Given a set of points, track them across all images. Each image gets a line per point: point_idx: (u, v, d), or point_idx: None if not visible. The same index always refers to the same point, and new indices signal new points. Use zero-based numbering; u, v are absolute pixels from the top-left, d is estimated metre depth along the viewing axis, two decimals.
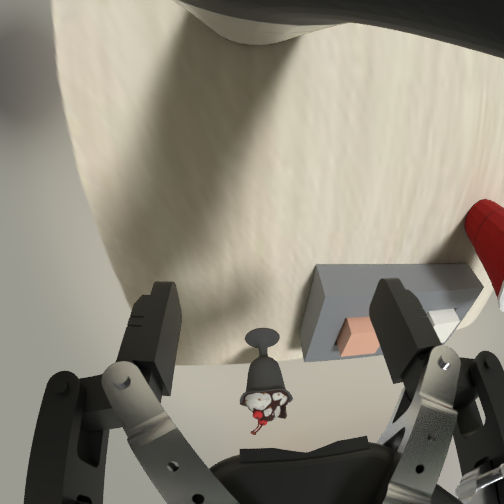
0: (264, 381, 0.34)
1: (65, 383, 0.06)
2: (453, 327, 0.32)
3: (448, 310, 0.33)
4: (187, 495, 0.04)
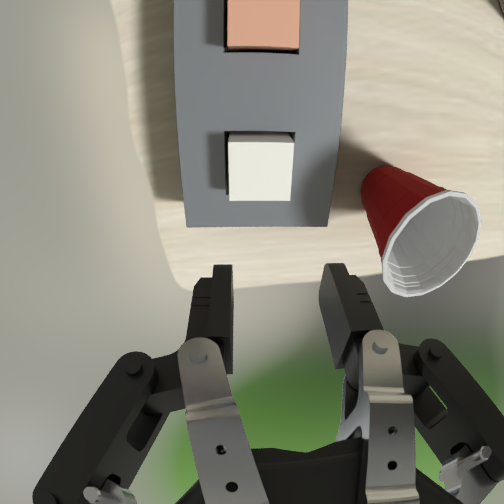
0: None
1: (139, 365, 0.07)
2: (274, 195, 0.23)
3: None
4: (223, 480, 0.05)
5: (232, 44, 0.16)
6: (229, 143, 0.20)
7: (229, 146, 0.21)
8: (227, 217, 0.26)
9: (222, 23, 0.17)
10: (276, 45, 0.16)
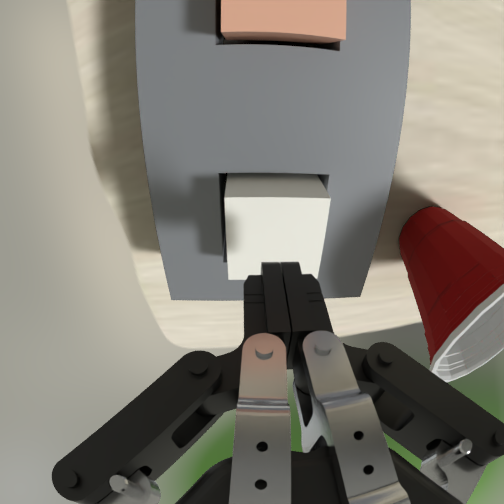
0: None
1: (205, 367, 0.07)
2: None
3: None
4: (254, 476, 0.05)
5: (229, 29, 0.09)
6: (226, 199, 0.13)
7: (226, 204, 0.13)
8: (226, 289, 0.19)
9: None
10: (307, 32, 0.09)
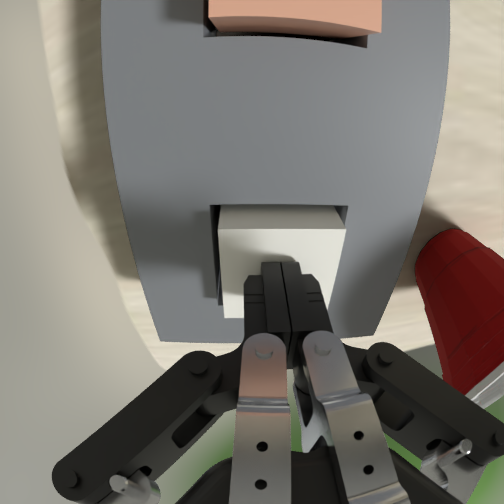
0: None
1: (205, 367, 0.07)
2: None
3: None
4: (254, 476, 0.05)
5: (221, 13, 0.06)
6: (220, 231, 0.11)
7: (220, 237, 0.11)
8: (222, 332, 0.16)
9: None
10: (330, 19, 0.06)
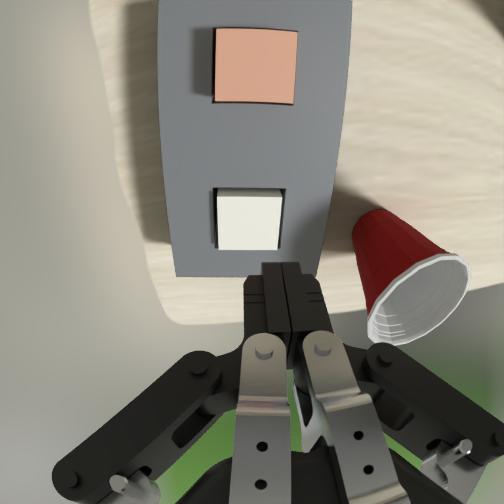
0: None
1: (205, 367, 0.07)
2: (261, 245, 0.24)
3: None
4: (254, 476, 0.05)
5: (220, 99, 0.16)
6: (218, 197, 0.22)
7: (218, 200, 0.22)
8: (216, 269, 0.26)
9: (210, 69, 0.17)
10: (268, 100, 0.16)
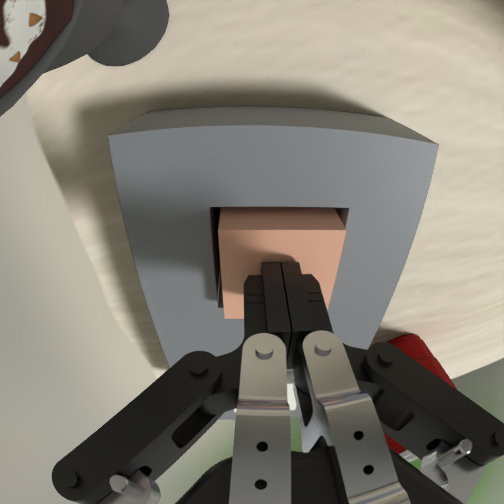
0: None
1: (205, 366, 0.07)
2: None
3: None
4: (254, 476, 0.05)
5: (231, 316, 0.14)
6: None
7: None
8: (232, 415, 0.23)
9: (212, 269, 0.13)
10: None
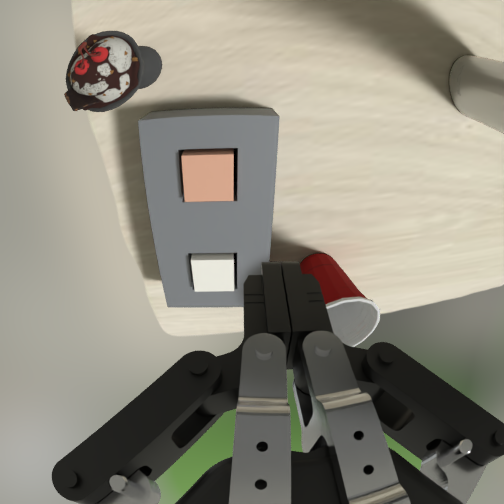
0: None
1: (204, 366, 0.07)
2: (223, 288, 0.36)
3: None
4: (254, 476, 0.05)
5: (188, 200, 0.29)
6: (191, 260, 0.33)
7: (191, 262, 0.33)
8: (194, 302, 0.38)
9: (179, 179, 0.28)
10: (217, 200, 0.29)
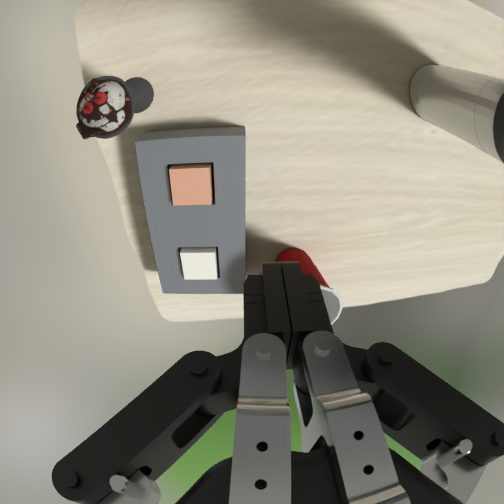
0: None
1: (205, 367, 0.07)
2: (207, 277, 0.42)
3: (217, 264, 0.44)
4: (254, 476, 0.05)
5: (175, 204, 0.36)
6: (180, 253, 0.40)
7: (180, 254, 0.40)
8: (185, 289, 0.45)
9: (169, 188, 0.35)
10: (199, 204, 0.36)
